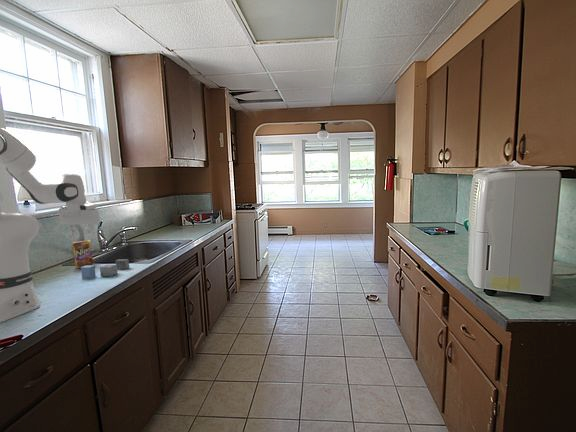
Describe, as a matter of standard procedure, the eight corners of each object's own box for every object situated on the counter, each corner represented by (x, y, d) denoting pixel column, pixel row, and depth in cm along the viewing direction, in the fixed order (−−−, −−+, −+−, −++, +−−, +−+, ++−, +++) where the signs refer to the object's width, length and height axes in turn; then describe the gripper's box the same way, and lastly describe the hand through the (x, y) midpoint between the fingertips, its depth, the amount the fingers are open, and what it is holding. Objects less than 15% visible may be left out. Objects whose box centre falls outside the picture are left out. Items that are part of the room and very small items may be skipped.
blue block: (90, 278, 165) (89, 267, 164) (82, 278, 166) (80, 267, 165) (95, 276, 168) (94, 265, 167) (87, 276, 169) (85, 265, 168)
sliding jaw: (111, 276, 166) (110, 267, 166) (100, 276, 167) (99, 267, 166) (118, 272, 172) (117, 263, 171) (108, 272, 173) (106, 264, 172)
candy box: (75, 268, 184) (72, 243, 181) (75, 267, 187) (72, 241, 185) (93, 265, 188) (90, 240, 186) (93, 264, 192) (90, 239, 190)
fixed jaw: (126, 269, 179) (125, 260, 178) (116, 269, 179) (115, 260, 179) (129, 267, 182) (128, 259, 181) (119, 267, 182) (118, 259, 182)
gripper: (53, 207, 159) (58, 234, 161) (90, 206, 156) (95, 233, 159) (63, 205, 165) (68, 231, 168) (99, 204, 162) (104, 230, 165)
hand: (81, 232), depth 163 cm, fingers open, 8 cm apart
